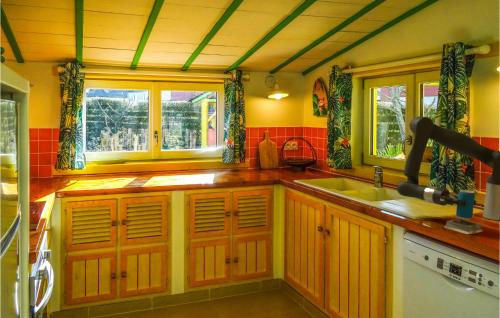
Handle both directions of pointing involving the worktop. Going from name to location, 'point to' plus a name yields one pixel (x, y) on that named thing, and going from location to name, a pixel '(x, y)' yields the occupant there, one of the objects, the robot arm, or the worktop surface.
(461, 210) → the beverage can
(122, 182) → the worktop surface
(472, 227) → the grey square tray
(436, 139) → the robot arm
